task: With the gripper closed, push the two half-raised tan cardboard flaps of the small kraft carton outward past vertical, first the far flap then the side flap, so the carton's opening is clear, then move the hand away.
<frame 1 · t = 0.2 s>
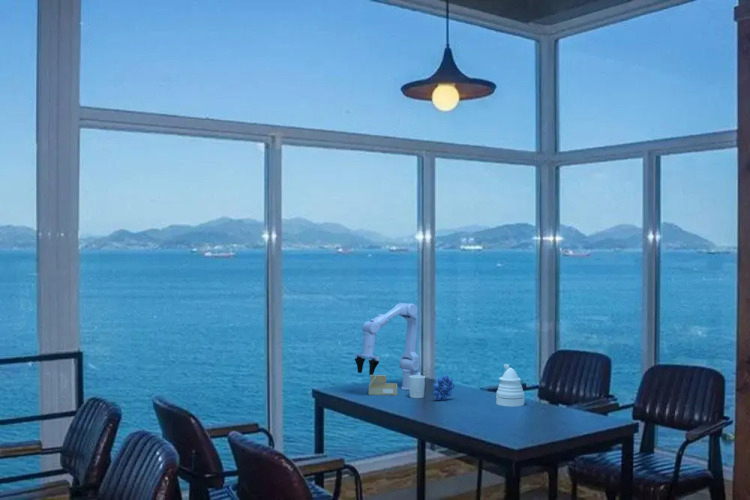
hand: (365, 373, 377), 10 cm above the table, tool pointing down, fingers open, 7 cm apart
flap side: (378, 378, 390), point 6 cm above the table, hinge at -35.0°
carton: (383, 392, 384), on the table
grapes: (442, 400, 366), on the table
white cup: (416, 397, 373), on the table
flap far: (372, 381, 382), point 6 cm above the table, hinge at -35.0°
honey pot: (510, 404, 358), on the table
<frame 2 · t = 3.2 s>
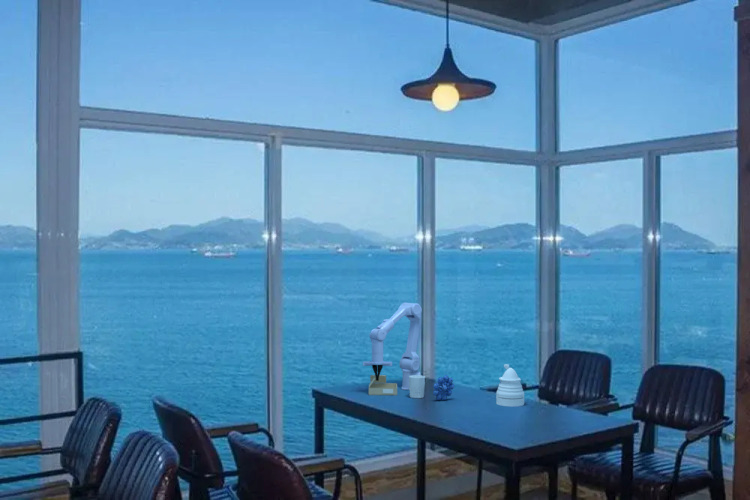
hand: (377, 380, 382), 6 cm above the table, tool pointing down, fingers closed, pressing on flap far
flap far: (372, 381, 382), point 6 cm above the table, hinge at -35.0°, touching gripper
everything else where it was.
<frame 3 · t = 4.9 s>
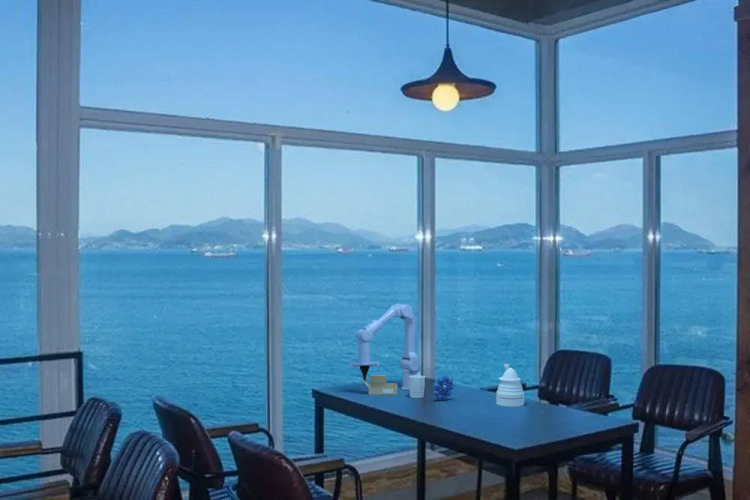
hand: (364, 381, 382), 6 cm above the table, tool pointing down, fingers closed, pressing on flap far
flap far: (365, 381, 382), point 6 cm above the table, hinge at 39.0°, touching gripper
everything else where it was.
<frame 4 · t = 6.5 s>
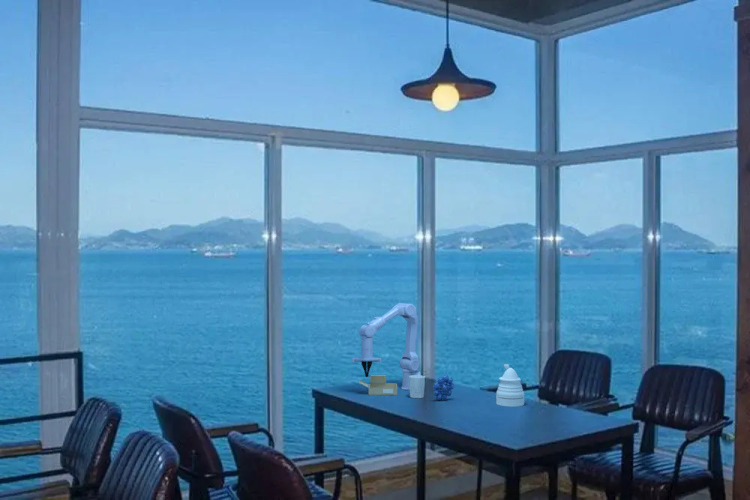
hand: (366, 376, 382), 8 cm above the table, tool pointing down, fingers closed
flap far: (363, 383, 382), point 5 cm above the table, hinge at 62.9°
everything else where it was.
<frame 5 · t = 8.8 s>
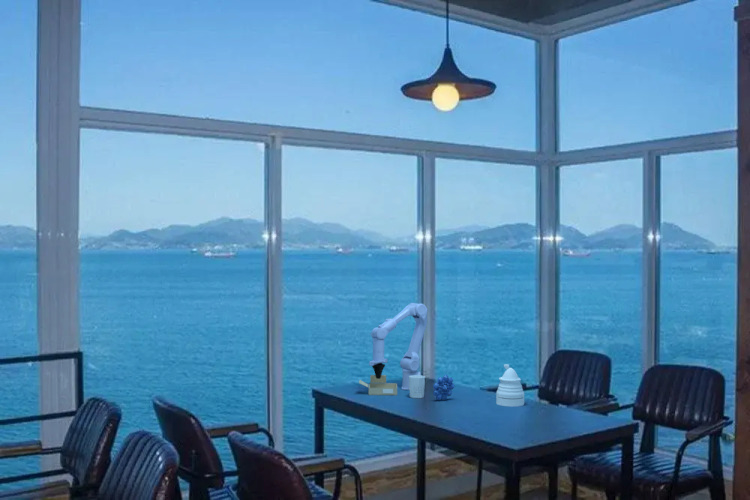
hand: (378, 378, 387), 7 cm above the table, tool pointing down, fingers closed, pressing on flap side
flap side: (378, 378, 390), point 6 cm above the table, hinge at -34.0°, touching gripper
flap far: (363, 383, 382), point 5 cm above the table, hinge at 63.7°
everything else where it was.
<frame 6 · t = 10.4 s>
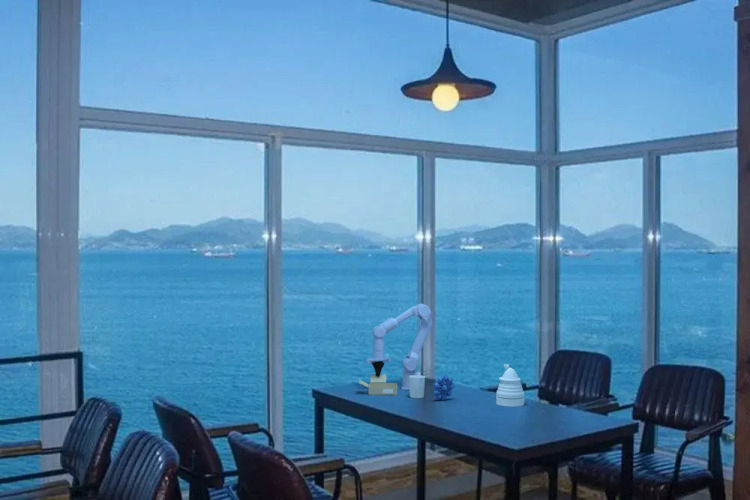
hand: (378, 376, 394), 7 cm above the table, tool pointing down, fingers closed, pressing on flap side
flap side: (378, 378, 394), point 6 cm above the table, hinge at 45.7°, touching gripper
everything else where it was.
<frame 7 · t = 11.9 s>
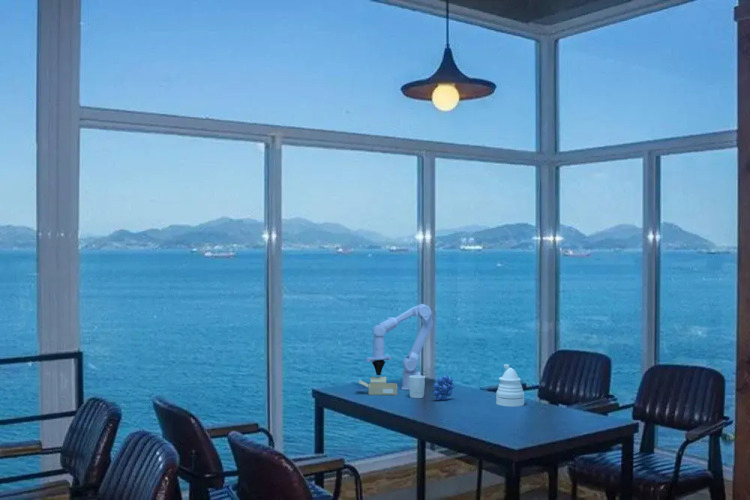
hand: (378, 375, 395), 7 cm above the table, tool pointing down, fingers closed
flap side: (378, 379, 394), point 5 cm above the table, hinge at 64.2°
everything else where it was.
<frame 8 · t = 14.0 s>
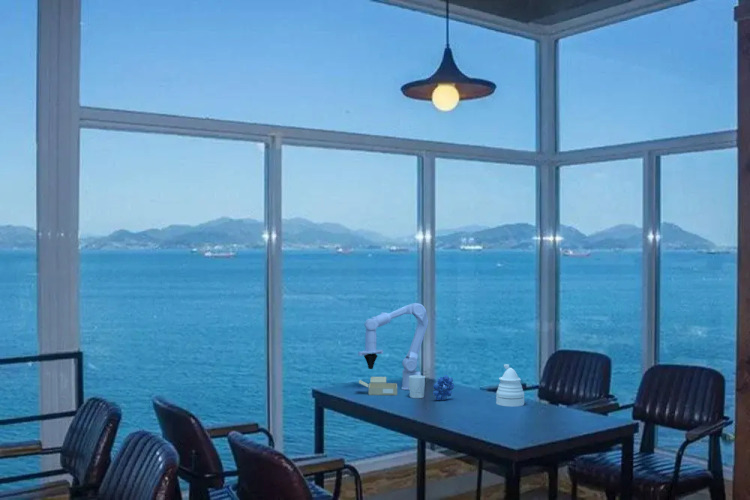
hand: (370, 368, 394), 10 cm above the table, tool pointing down, fingers closed
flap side: (378, 379, 394), point 5 cm above the table, hinge at 64.9°
everything else where it was.
at the end: flap far at +64° (first picture: -35°); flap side at +65° (first picture: -35°) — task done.
